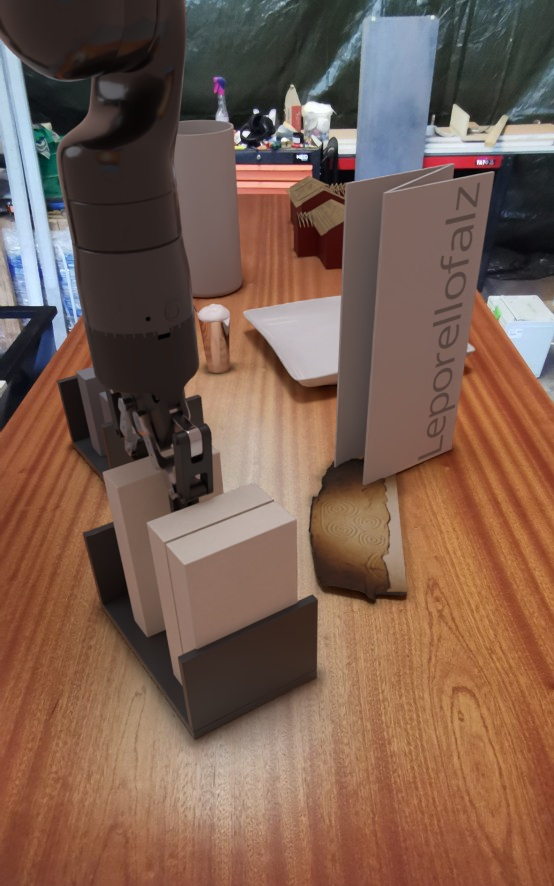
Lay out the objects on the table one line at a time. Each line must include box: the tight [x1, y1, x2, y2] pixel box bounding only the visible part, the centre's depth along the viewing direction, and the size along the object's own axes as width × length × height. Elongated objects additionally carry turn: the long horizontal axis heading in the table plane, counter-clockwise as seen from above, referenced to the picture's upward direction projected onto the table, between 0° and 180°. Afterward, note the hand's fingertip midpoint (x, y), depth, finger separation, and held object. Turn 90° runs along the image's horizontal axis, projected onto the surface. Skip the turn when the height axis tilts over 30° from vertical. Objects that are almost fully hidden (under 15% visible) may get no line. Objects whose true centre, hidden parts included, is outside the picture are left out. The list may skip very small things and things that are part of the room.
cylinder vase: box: [174, 119, 243, 299], centre depth 127 cm, size 12×12×25 cm
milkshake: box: [194, 303, 231, 374], centre depth 106 cm, size 4×5×10 cm
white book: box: [103, 445, 225, 637], centre depth 63 cm, size 9×3×16 cm, turn 123°
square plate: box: [242, 295, 476, 388], centre depth 112 cm, size 27×27×4 cm
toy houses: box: [285, 175, 347, 270], centre depth 146 cm, size 45×20×10 cm, turn 9°
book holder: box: [82, 481, 319, 740], centre depth 62 cm, size 12×19×17 cm, turn 33°
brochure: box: [333, 163, 495, 485], centre depth 79 cm, size 14×6×30 cm, turn 126°
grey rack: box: [56, 366, 205, 483], centre depth 88 cm, size 12×14×11 cm
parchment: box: [308, 458, 408, 601], centre depth 79 cm, size 25×10×1 cm, turn 176°
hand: (169, 509), depth 61 cm, fingers open, 6 cm apart
